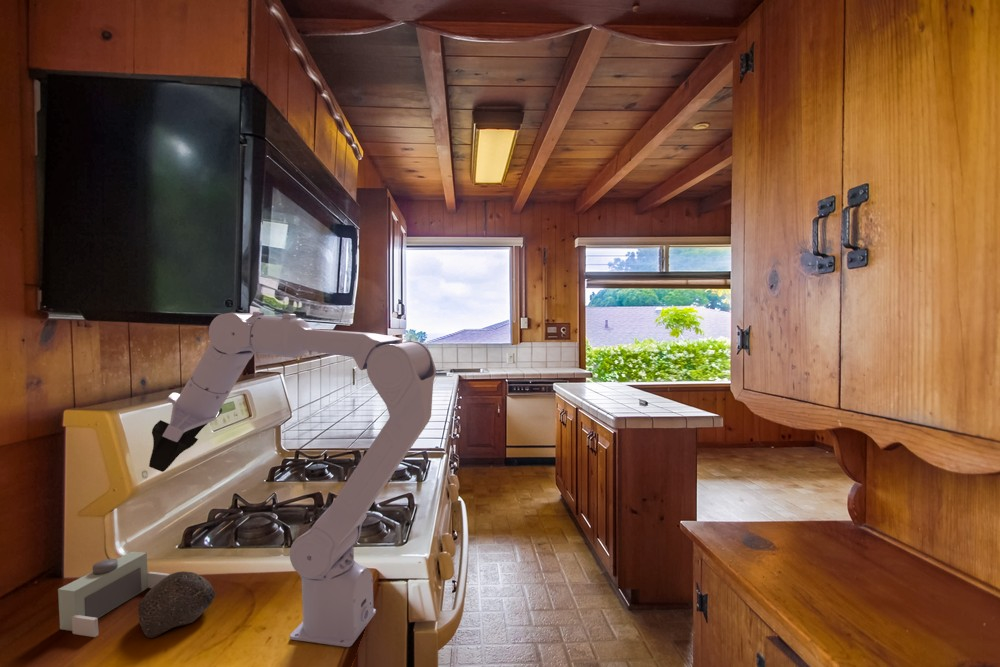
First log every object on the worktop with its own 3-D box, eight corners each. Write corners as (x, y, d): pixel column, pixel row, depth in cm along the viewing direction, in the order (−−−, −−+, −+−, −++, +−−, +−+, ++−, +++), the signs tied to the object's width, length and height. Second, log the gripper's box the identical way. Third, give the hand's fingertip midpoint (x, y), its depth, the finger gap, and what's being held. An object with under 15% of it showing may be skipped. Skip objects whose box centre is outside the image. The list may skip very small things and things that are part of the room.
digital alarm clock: (170, 588, 79) (168, 547, 79) (94, 637, 67) (92, 589, 67) (136, 584, 80) (134, 544, 80) (56, 631, 68) (53, 584, 68)
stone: (131, 652, 69) (122, 634, 63) (148, 589, 75) (141, 567, 68) (209, 642, 73) (207, 624, 67) (219, 583, 79) (219, 562, 72)
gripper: (204, 354, 76) (165, 422, 77) (160, 388, 62) (114, 469, 64) (247, 375, 78) (208, 440, 80) (213, 412, 64) (167, 489, 66)
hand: (169, 454), depth 72 cm, fingers open, 7 cm apart
